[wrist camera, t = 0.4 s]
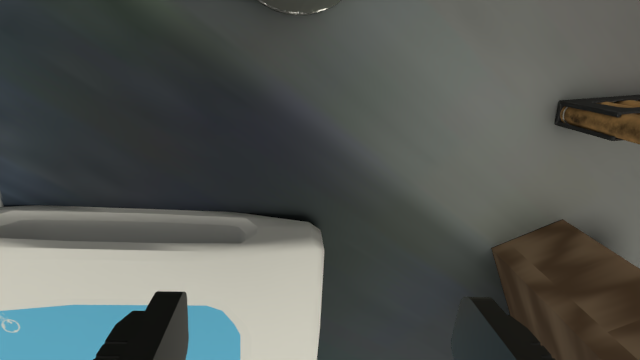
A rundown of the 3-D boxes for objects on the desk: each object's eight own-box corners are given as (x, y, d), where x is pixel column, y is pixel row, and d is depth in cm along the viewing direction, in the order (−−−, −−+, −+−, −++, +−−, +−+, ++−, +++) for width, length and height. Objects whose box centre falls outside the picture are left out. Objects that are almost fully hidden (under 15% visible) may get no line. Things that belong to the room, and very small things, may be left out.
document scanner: (303, 398, 37) (306, 466, 31) (5, 405, 34) (-54, 481, 28) (319, 213, 29) (327, 255, 23) (-61, 200, 26) (-161, 245, 20)
